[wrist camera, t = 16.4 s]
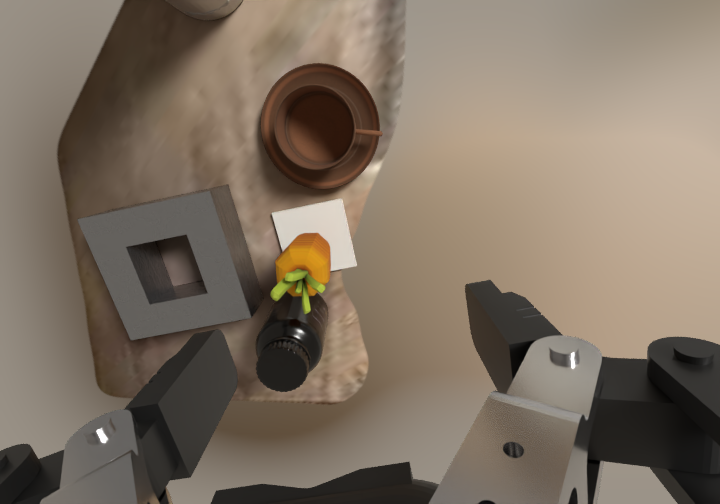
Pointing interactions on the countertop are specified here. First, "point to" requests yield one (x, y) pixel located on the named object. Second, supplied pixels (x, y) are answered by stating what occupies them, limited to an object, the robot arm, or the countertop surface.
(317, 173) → the cup and saucer
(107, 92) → the countertop surface
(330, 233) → the plastic pad
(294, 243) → the carrot
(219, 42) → the countertop surface
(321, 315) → the supplement bottle
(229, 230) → the metal housing
